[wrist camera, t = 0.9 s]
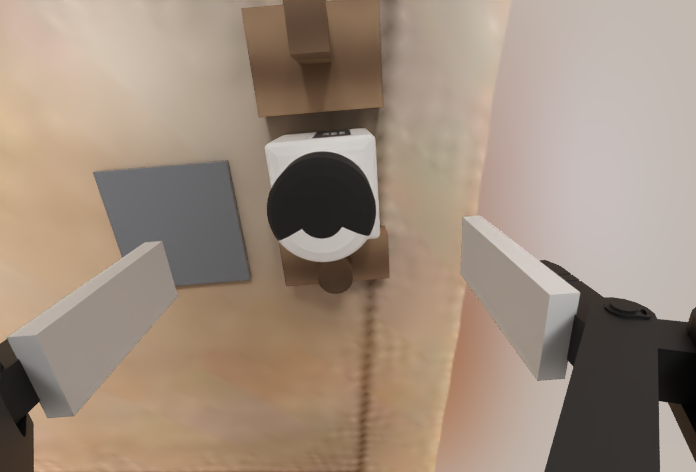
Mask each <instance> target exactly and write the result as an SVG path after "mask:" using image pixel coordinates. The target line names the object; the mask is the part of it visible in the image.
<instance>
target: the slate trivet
mask: <svg viewBox="0 0 696 472" xmlns="http://www.w3.org/2000/svg"><path fill="white" fill-rule="evenodd" d="M93 174H94V177H95V180H96V183H97V186H98V189H99V191H100V194H101V197H102V200H103V203H104V206H105V209H106V212H107V215H108V218H109V221H110V223H111V226H112V229H113V232H114V235H115V238H116V241H117V244H118V247H119V250H120V252H121V255H122V258H123V257H124V256H126V255H127V254H128V253H130V252H131V251H133V250H134V249H136V248H137V247H139V246H140V245H142V244H143V243H144V242H155V241H162V243H163V246H164V250H165V253H166V256H167V260H168V263H169V267H170V270H171V274H172V277H173V281H174V284H175V286H180V285H193V284H206V283H219V282H231V281H244V280H250V279H251V273H250V268H249V263H248V258H247V253H246V248H245V243H244V238H243V233H242V228H241V223H240V219H239V214H238V209H237V204H236V199H235V194H234V189H233V184H232V179H231V174H230V169H229V164H228V160H226V161H214V162H201V163H189V164H177V165H165V166H153V167H140V168H128V169H116V170H104V171H96V172H93Z"/></svg>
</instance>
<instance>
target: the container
mask: <svg viewBox="0 0 696 472" xmlns="http://www.w3.org/2000/svg"><path fill="white" fill-rule="evenodd" d="M265 154H266V160H267V166H268V172H269V178H270V185H271V190H270V193H269V197H268V202H267V215H268V221H269V224H270V227H271V229H272V231H273V233H274V235H275V237H276V238H277V240H278V241H279V242H280V243H281V245H283V246H284V247H285V248H286V249H287V250H288V251H290V252H291V253H293V254H294V255H296V256H298V257H300V258H303V259H306V260H310V261H315V262H330V261H336V260H339V259H342V258H345V257H347V256H349V255H351V254H352V253H354V252H355V251H357V250H358V249H359V248H360V247H361V246H362V245H363V244H364V243H365V242H366V240H367V239H375V238H378V237H379V236H380V219H379V200H378V180H377V161H376V142H375V137H374V136H373V135H372V134H371V133H370V132H369V131H368V130H367V129H366V128H355V129H344V130H332V131H321V132H309V133H298V134H287V135H282V136H281V137H279V138H277V139H275V140H273V141H271V142H270V143H268V144H266V146H265Z"/></svg>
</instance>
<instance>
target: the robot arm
mask: <svg viewBox="0 0 696 472" xmlns="http://www.w3.org/2000/svg"><path fill="white" fill-rule="evenodd" d="M460 274H461V275H462V277H463V278H464V280H465V281H466V282H467V284H468V285H469V286H470V288H471V289H472V291H473V292H474V293H475V295H476V296H477V297H478V299H479V300H480V302H481V303H482V304H483V306H484V307H485V309H486V310H487V311H488V313H489V314H490V316H491V317H492V318H493V320H494V321H495V323H496V324H497V325H498V327H499V328H500V330H501V331H502V332H503V334H504V335H505V336H506V338H507V339H508V341H509V342H510V343H511V345H512V346H513V348H514V349H515V350H516V352H517V353H518V354H519V356H520V357H521V359H522V360H523V361H524V363H525V364H526V366H527V367H528V368H529V370H530V371H531V372H532V374H533V375H534V377H535V378H536V379H537V381H540V380H553V379H565V374H566V369H567V363H568V361H569V362H570V363H571V364H572V365H573V371H572V375H571V378H570V382H569V385H568V389H567V393H566V396H565V400H564V403H563V407H562V411H561V414H560V418H559V421H558V425H557V429H556V432H555V436H554V439H553V443H552V447H551V450H550V454H549V457H548V461H547V464H546V468H545V472H660V454H659V453H660V451H659V401H663V402H668V404H669V406H670V408H671V410H672V412H673V414H674V416H675V418H676V421H677V423H678V425H679V427H680V429H681V431H682V434H683V436H684V438H685V440H686V442H687V444H688V446H689V449H690V451H691V453H692V455H693V457H694V460H695V462H696V308H694V309H693V310H692V312H691V315H690V318H689V322H680V321H670V320H661V319H657V318H656V316H655V314H654V313H653V312H652V311H651V310H649V309H648V308H646V307H644V306H642V305H640V304H638V303H635V302H632V301H628V300H625V299H619V298H604V297H602V296H601V295H600V294H598V293H597V292H595V291H594V290H593V289H591V288H590V287H589V286H587V285H586V284H584V283H583V282H582V281H579V279H577V278H576V277H574V276H573V275H571V274H570V273H569V272H568V271H566V270H565V269H564V268H562V267H561V266H559V265H556V264H554V263H551V262H549V261H546V260H541V261H539V260H538V259H536V258H535V257H534V256H532V255H531V254H530V253H528V252H527V251H526V250H524V249H523V248H522V247H521V246H519V245H518V244H517V243H515V242H514V241H513V240H511V239H510V238H509V237H508V236H506V235H505V234H503V232H501V231H500V230H498V229H497V228H496V227H495V226H493V225H492V224H491V223H489V222H488V221H487V220H486V219H484V218H483V217H482V216H467V217H463V221H462V245H461V269H460ZM177 297H178V295H177V291H176V288H175V284H174V281H173V277H172V274H171V270H170V267H169V263H168V260H167V256H166V253H165V250H164V246H163V243H162V241H155V242H144V243H143V244H142V245H140V246H139V247H137V248H136V249H134V250H133V251H131V252H130V253H128V254H127V255H126V256H124V257H123V258H121V259H120V260H118V261H117V262H115V263H114V264H112V265H111V266H110V267H108V268H107V269H105V270H104V271H102V272H101V273H99V274H98V275H96V276H95V277H94V278H92V279H91V280H89V281H88V282H86V283H85V284H83V285H82V286H80V287H79V288H78V289H76V290H75V291H73V292H72V293H70V294H69V295H67V296H66V297H64V298H63V299H62V300H60V301H59V302H57V303H56V304H54V305H53V306H51V307H50V308H49V309H47V310H46V311H44V312H43V313H41V314H40V315H38V316H37V317H35V318H34V319H33V320H31V321H30V322H28V323H27V324H25V325H24V326H22V327H21V328H19V329H18V330H17V331H15V332H14V333H12V334H11V335H9V336H8V337H6V338H7V339H6V340H5V341H3V342H2V343H1V344H0V472H34V438H33V422H32V420H31V418H30V416H29V414H28V412H29V411H30V410H31V409H32V408H33V407H34V406H35V405H36V404H37V403H38V402H40V404H41V406H42V408H43V410H44V412H45V414H46V416H47V418H56V417H69V416H75V415H76V414H77V412H78V411H79V410H80V409H81V408H82V407H83V405H84V404H85V403H86V402H87V401H88V400H89V399H90V397H91V396H92V395H93V394H94V393H95V392H96V390H97V389H98V388H99V387H100V386H101V385H102V383H103V382H104V381H105V380H106V379H107V378H108V376H109V375H110V374H111V373H112V372H113V371H114V370H115V368H116V367H117V366H118V365H119V364H120V363H121V361H122V360H123V359H124V358H125V357H126V356H127V354H128V353H129V352H130V351H131V350H132V349H133V348H134V346H135V345H136V344H137V343H138V342H139V341H140V339H141V338H142V337H143V336H144V335H145V334H146V332H147V331H148V330H149V329H150V328H151V327H152V325H153V324H154V323H155V322H156V321H157V320H158V319H159V317H160V316H161V315H162V314H163V313H164V312H165V310H166V309H167V308H168V307H169V306H170V305H171V303H172V302H173V301H174V300H175V299H176V298H177Z"/></svg>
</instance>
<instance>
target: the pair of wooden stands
mask: <svg viewBox="0 0 696 472" xmlns="http://www.w3.org/2000/svg"><path fill="white" fill-rule="evenodd" d="M241 9H242V16H243V22H244V28H245V34H246V40H247V46H248V53H249V59H250V65H251V71H252V77H253V84H254V90H255V96H256V102H257V108H258V115H259V117H267V116H279V115H291V114H303V113H315V112H328V111H340V110H352V109H364V108H376V107H383V99H382V73H381V47H380V21H379V0H334V1H325V0H283V5H276V6H264V7H253V8H241ZM279 245H280V251H281V257H282V263H283V270H284V276H285V282H286V286H295V285H307V284H320V286H321V287H322V289H324V290H325V291H327V292H329V293H333V294H338V293H342V292H344V291H346V290H347V289H348V288H349V287H350V286H351V284H352V281H358V280H371V279H384V278H389V255H388V234H387V231H386V228H385V226H380V236H379V237H378V238H375V239H367V240H366V242H365V243H364V244H363V245H362V246H361V247H360V248H359V249H358V250H357V251H355V252H354V253H352V254H351V255H349V256H347V257H345V258H342V259H339V260H336V261H330V262H315V261H310V260H306V259H303V258H300V257H298V256H296V255H294V254H293V253H291V252H290V251H288V250H287V249H286V248H285V247H284V246H283V245H281V243H279Z"/></svg>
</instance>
